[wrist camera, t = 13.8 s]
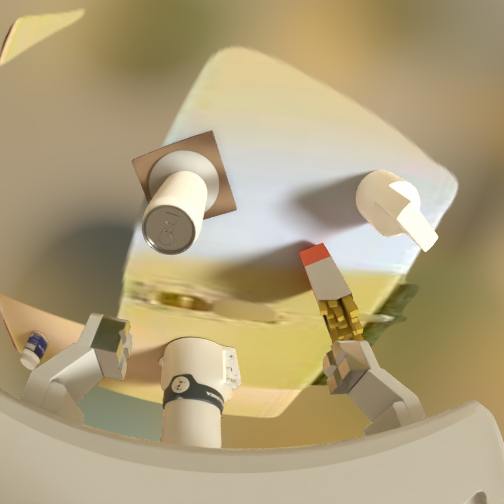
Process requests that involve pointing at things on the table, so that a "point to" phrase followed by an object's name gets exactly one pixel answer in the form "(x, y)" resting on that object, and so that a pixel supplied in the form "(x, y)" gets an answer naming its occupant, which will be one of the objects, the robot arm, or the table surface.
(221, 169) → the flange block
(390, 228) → the base with upright slab
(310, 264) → the french fries container
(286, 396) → the table surface
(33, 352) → the pill bottle
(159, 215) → the can
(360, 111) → the table surface
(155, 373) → the table surface
